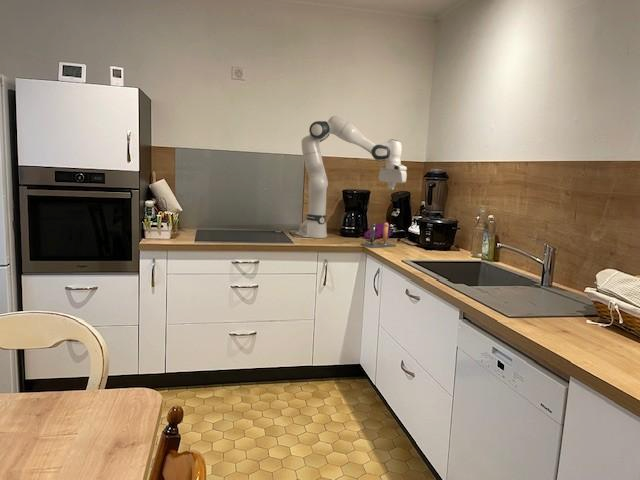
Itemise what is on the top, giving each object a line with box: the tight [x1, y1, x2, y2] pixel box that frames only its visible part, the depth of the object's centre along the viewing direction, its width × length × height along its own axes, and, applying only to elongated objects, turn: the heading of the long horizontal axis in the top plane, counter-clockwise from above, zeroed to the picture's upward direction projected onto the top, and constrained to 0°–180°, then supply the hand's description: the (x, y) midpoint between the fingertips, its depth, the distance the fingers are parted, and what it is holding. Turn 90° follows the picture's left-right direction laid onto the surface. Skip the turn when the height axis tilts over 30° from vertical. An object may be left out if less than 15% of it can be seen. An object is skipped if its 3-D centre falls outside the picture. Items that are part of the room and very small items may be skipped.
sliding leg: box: [378, 222, 390, 243], centre depth 283 cm, size 6×3×12 cm, turn 37°
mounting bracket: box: [363, 222, 391, 240], centre depth 314 cm, size 9×8×18 cm
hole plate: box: [360, 240, 397, 249], centre depth 281 cm, size 10×19×2 cm, turn 128°
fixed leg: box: [365, 222, 377, 244], centre depth 276 cm, size 6×3×12 cm, turn 37°
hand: (391, 189), depth 290 cm, fingers closed
